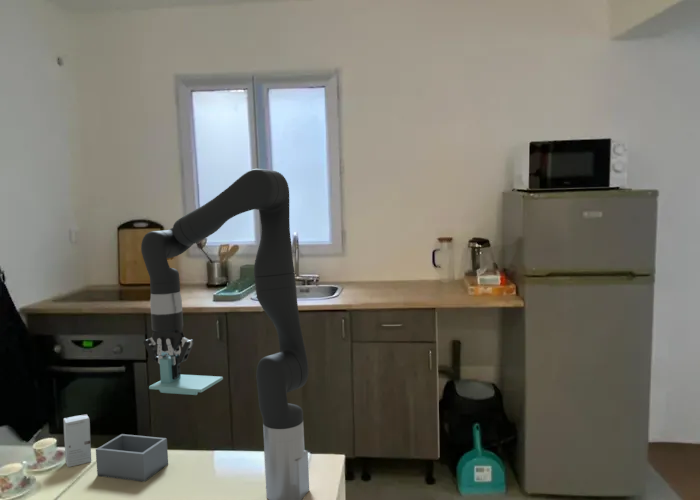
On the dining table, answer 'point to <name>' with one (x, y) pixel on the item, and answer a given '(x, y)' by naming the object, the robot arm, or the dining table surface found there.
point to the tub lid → (182, 381)
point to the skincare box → (77, 440)
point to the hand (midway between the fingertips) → (170, 378)
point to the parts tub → (132, 457)
